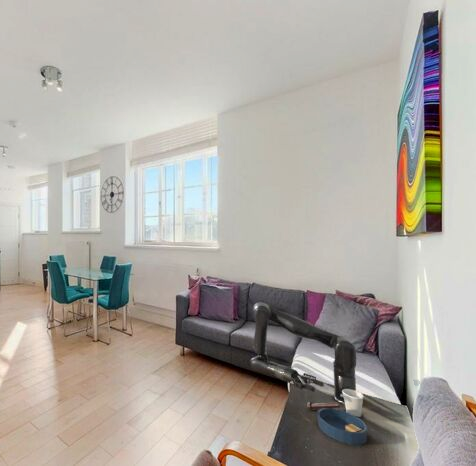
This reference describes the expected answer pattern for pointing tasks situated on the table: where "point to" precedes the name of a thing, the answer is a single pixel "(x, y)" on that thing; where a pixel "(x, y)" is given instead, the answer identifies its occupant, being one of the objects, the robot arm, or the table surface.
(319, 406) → the cylinder
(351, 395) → the dixie cup
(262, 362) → the robot arm
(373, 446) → the table surface
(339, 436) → the bowl
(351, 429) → the wooden block
